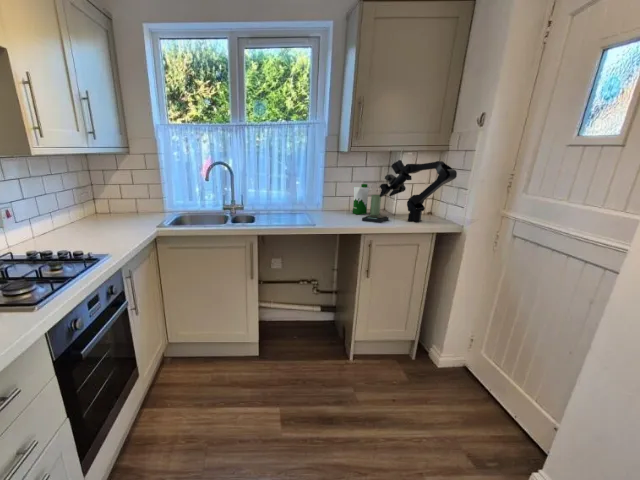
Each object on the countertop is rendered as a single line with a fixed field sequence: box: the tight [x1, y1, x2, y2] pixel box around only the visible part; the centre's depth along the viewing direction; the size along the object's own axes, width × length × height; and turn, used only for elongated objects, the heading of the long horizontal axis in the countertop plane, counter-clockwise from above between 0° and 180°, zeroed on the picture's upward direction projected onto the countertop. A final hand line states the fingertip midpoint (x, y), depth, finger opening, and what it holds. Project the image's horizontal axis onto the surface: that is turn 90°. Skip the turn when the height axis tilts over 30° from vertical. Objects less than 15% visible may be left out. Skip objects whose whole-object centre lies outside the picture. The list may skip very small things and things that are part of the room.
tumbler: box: [369, 194, 382, 215], centre depth 248 cm, size 6×6×13 cm
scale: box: [361, 214, 390, 224], centre depth 228 cm, size 12×12×3 cm
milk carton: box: [352, 183, 370, 216], centre depth 251 cm, size 9×9×20 cm
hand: (384, 196), depth 240 cm, fingers open, 9 cm apart
